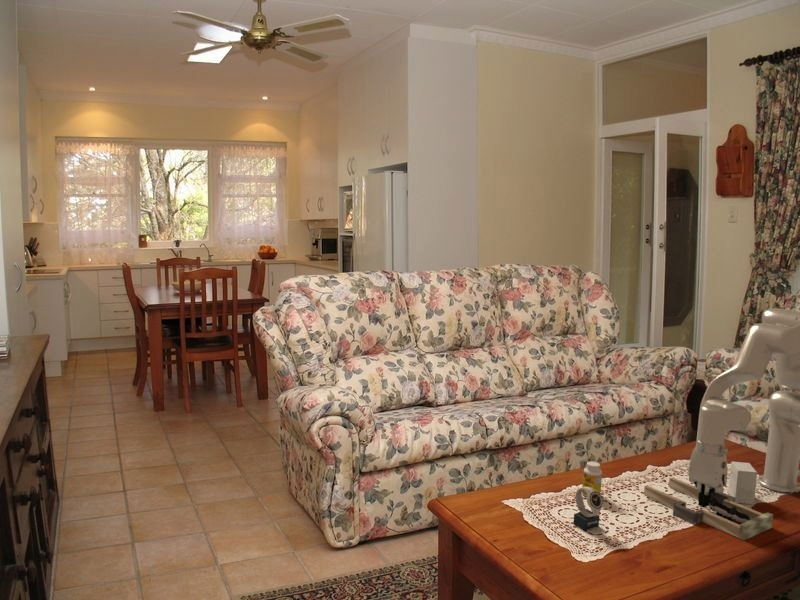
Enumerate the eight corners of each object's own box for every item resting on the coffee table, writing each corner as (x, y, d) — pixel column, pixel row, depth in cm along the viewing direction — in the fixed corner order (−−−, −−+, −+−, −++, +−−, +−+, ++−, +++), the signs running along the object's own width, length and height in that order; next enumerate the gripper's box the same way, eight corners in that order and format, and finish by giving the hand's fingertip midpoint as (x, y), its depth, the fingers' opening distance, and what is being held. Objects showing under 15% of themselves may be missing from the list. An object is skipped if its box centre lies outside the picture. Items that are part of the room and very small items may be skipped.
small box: (754, 505, 214) (757, 472, 212) (734, 503, 215) (738, 470, 213) (746, 494, 221) (750, 462, 220) (727, 492, 222) (731, 460, 221)
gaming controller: (712, 516, 210) (702, 504, 207) (719, 504, 211) (710, 492, 208) (744, 531, 201) (735, 519, 197) (752, 519, 202) (743, 506, 198)
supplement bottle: (578, 492, 219) (580, 461, 217) (592, 490, 221) (594, 459, 219) (589, 499, 214) (591, 468, 212) (604, 497, 216) (606, 465, 214)
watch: (590, 533, 193) (592, 496, 191) (568, 521, 199) (571, 485, 198) (604, 529, 195) (607, 492, 194) (583, 517, 202) (585, 481, 200)
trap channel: (677, 483, 228) (679, 472, 227) (778, 524, 201) (779, 511, 200) (636, 498, 216) (637, 486, 215) (737, 543, 189) (738, 529, 189)
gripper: (741, 452, 202) (734, 512, 204) (694, 437, 214) (688, 493, 217) (726, 457, 197) (719, 518, 200) (679, 441, 210) (674, 498, 213)
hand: (703, 505), depth 209 cm, fingers closed
